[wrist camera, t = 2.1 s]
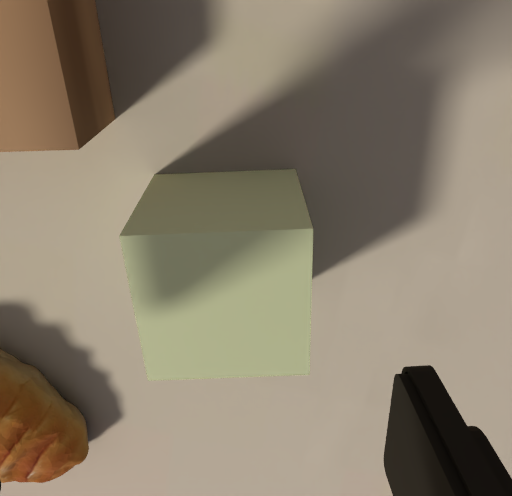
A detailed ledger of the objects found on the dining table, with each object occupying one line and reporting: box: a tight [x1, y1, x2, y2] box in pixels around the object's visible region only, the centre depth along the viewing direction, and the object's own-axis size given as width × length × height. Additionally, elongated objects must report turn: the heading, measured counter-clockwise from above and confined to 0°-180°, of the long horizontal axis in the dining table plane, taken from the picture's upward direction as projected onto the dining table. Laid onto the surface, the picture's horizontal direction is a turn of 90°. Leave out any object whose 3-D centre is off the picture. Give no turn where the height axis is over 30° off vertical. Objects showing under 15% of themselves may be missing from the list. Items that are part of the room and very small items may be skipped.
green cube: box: [119, 169, 313, 381], centre depth 15 cm, size 5×5×5 cm
